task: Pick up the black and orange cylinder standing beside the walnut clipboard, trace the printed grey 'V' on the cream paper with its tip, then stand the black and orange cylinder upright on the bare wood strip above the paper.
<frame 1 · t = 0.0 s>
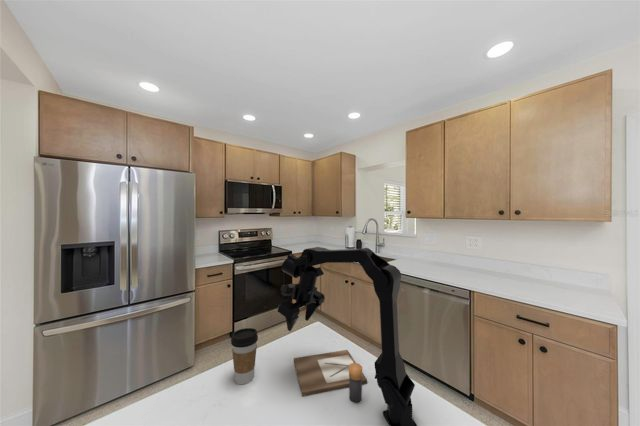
hand: (298, 325, 80), 15 cm above the countertop, tool pointing down, fingers open, 9 cm apart
black and orange cylinder: (355, 398, 68), on the countertop
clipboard: (327, 371, 79), on the countertop
coffee cup: (244, 378, 76), on the countertop
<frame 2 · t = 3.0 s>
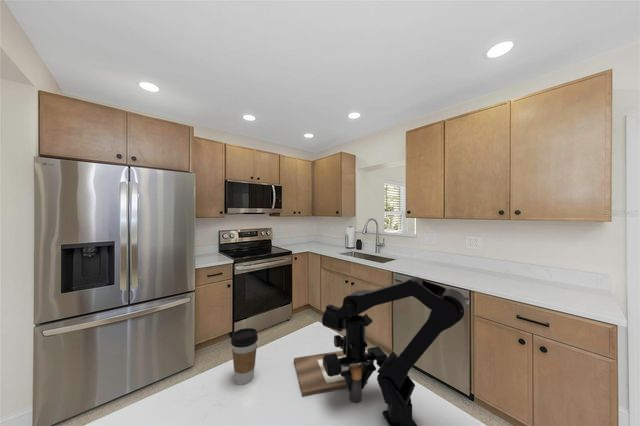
hand: (355, 389, 68), 3 cm above the countertop, tool pointing down, fingers closed on black and orange cylinder, 4 cm apart
black and orange cylinder: (355, 398, 68), on the countertop, touching gripper
everything else where it was.
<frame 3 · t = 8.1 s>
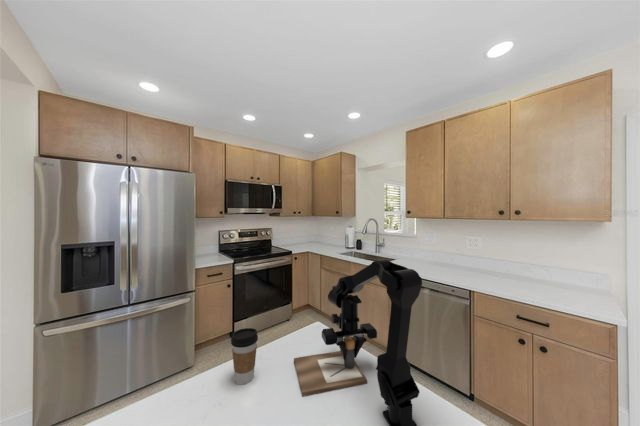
hand: (349, 358, 80), 4 cm above the countertop, tool pointing down, fingers closed on black and orange cylinder, 4 cm apart
black and orange cylinder: (349, 365, 80), point 2 cm above the countertop, touching gripper
everything else where it was.
when the fingers open (5 cm above the countertop, at t = 13.7 s): black and orange cylinder stays where it is, resting on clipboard.
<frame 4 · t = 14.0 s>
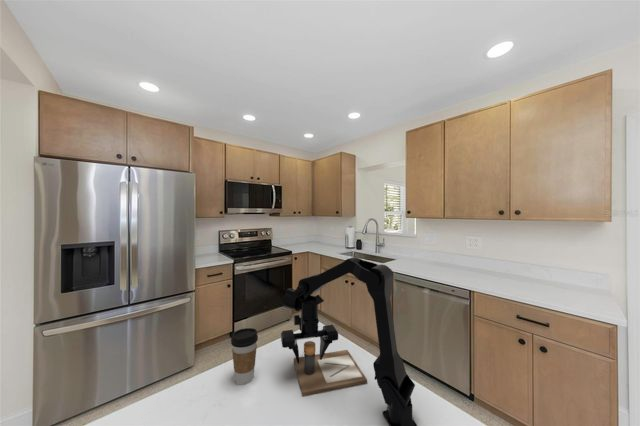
hand: (309, 360, 77), 5 cm above the countertop, tool pointing down, fingers open, 7 cm apart
black and orange cylinder: (309, 371, 78), point 1 cm above the countertop, touching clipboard
everything else where it was.
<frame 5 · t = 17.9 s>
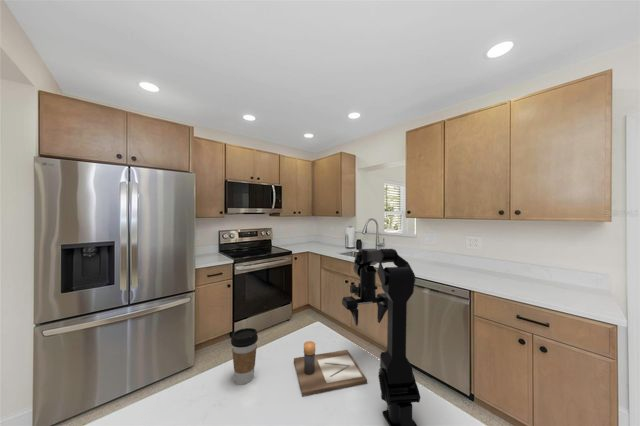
hand: (367, 323, 86), 13 cm above the countertop, tool pointing down, fingers open, 9 cm apart
nothing on the countertop moved.
at the end: black and orange cylinder 0.1 cm from the target spot, point 1.2 cm above the countertop; black and orange cylinder tilted 0°; the gripper is holding nothing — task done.
